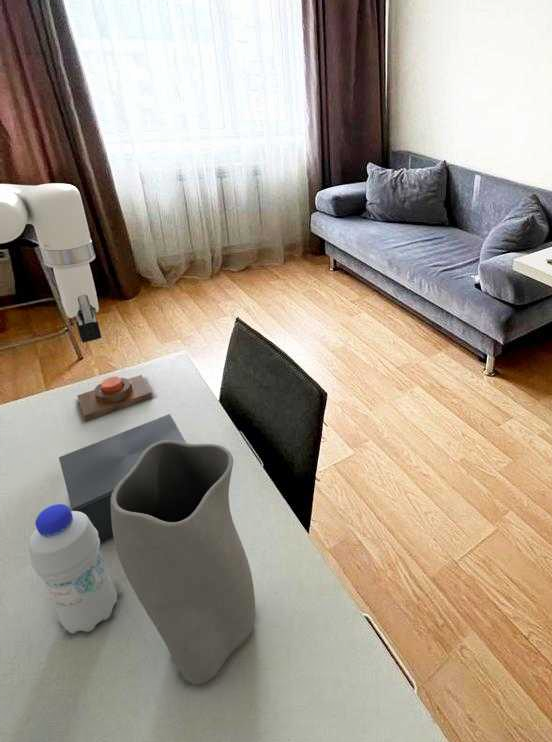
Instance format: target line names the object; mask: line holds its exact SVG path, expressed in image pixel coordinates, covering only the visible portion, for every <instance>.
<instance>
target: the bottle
mask: <svg viewBox="0 0 552 742" xmlns="http://www.w3.org/2000/svg"><path fill="white" fill-rule="evenodd" d="M70 508H71V507H69V506H68V505H66V504H64V503H57V504H51V505H49V506H47V507H46V508H44V509H43V510H42V511H41V512H40V513H39V514H38V515H37V517H36V518H35V527H36V528H35V530H34V531H33V532H32V533H31V535H30V538H29V541H28V549H29V554H30V560H31V567H32V568H33V569H34V570H35V573H36V575H37V576H38V577H39V578H40V579H43V581H44V583H45V586H46V588H47V591H48V592H49V595H50V597H51V600H52V601H53V603H54V604H53V605H54V608H55V610H56V611H55V612H56V614H57V616H58V617H57V618H58V620H59V622H60V624H61V626H62V627H63V628H64V629H65V630H66V631H67V632H69V633H70V634H76V633H78V632H81V631H82V632H86V633H89V632H91V631H93V630H95V628H96V626H97V625H98V624H99V623H100V622H102V621H107V620H108V619H109V618H110V617H111V615H112V611H113V608H114V606H115V605H116V604H117V601H118V594H117V589H116V586H115V584H114V581H113V579H112V578H111V576H110V573H109V572H108V569H107V566H106V564H105V561H104V558H103V556H102V552H101V550H100V545H101V543H100V539H99V537H98V532H97V530H96V529H95V527H94V526H93V524H92V523H91V521H90V520H89V518H88V517H87V515H86V514H84V513H82V512H79V511H72V509H70Z"/></svg>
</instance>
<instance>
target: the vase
mask: <svg viewBox="0 0 552 742" xmlns="http://www.w3.org/2000/svg"><path fill="white" fill-rule="evenodd" d="M233 467H234V456H233V454H232V453H231V451H230V450H229V449H228V448H226V447H225V446H223V445H220V444H214V443H190V442H186V443H185V442H181V441H176V440H164V441H160V442H157V443H154V444H153V445H151V446H150V447H148V448H147V449H146V450H145V451H144V452H143V453H142V455H141V456H140V457H139V459H138V460H137V462H136V464H135V465H134V467H133V468H132V469H131V470H130V471H129V473H128V474H127V475H126V476H125V477H124V478H123V479H122V480H121V481H120V482H119V483H118V485H117V486H116V487H115V489H114V491H113V493H112V495H111V521H112V530H113V543H114V546H115V551H116V553H117V556H118V560H119V563H120V565H121V567H122V569H123V571H124V574H125V576H126V578H127V580H128V582H129V584H130V586H131V588H132V590H133V593H135V595H136V597H137V599H138V600H139V602H140V604H141V605H142V607H143V609H144V610H145V612H146V614H147V616H148V618H149V619H150V621H151V622H152V623H153V626H154V627H155V629H156V630H157V632H158V634H159V636H160V637H161V639H162V640H163V642H164V644H165V646H166V647H167V649H168V651H169V653H170V654H171V656H172V659H173V660H174V663H175V665H176V666H177V668H178V670H179V673H180V674H181V676H182V677H183V678H184V679H185V680H186V681H187V682H188V683H190V684H192V685H195V686H196V685H203V684H206V683H208V682H210V680H212V679H213V678H214V677H215V676H217V674H218V673H219V672H220V671H221V669H222V667H223V666H224V664H225V662H226V661H227V660H228V658H229V656H230V655H231V654H233V652H234V651H235V650H236V649H238V647H240V646H241V645H242V644H243V643H244V642H245V641H246V640H247V638H248V637H249V635H250V634H251V632H252V630H253V629H254V626H255V623H256V622H255V621H256V616H257V615H256V597H255V586H254V581H253V576H252V575H253V574H252V571H251V567H250V564H249V560H248V557H247V553H246V551H245V549H244V546H243V543H242V540H241V538H240V535H239V533H238V531H237V528H236V525H235V522H234V520H233V516H232V514H231V507H230V498H229V497H230V485H231V484H230V483H231V477H232V472H233Z"/></svg>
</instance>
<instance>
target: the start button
mask: <svg viewBox="0 0 552 742" xmlns="http://www.w3.org/2000/svg"><path fill="white" fill-rule="evenodd" d="M121 378H122V377H120V376H111V377H108V378H105V379H104V380H102V381H101V383H100V384H101V387H102V390H103V392H104V393H113V392H116V391H119V390H120V389H122V388H123V384H122V380H121Z"/></svg>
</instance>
